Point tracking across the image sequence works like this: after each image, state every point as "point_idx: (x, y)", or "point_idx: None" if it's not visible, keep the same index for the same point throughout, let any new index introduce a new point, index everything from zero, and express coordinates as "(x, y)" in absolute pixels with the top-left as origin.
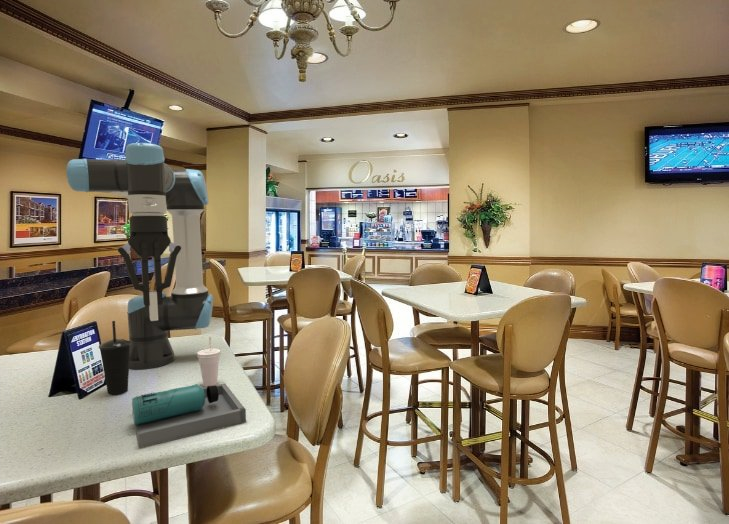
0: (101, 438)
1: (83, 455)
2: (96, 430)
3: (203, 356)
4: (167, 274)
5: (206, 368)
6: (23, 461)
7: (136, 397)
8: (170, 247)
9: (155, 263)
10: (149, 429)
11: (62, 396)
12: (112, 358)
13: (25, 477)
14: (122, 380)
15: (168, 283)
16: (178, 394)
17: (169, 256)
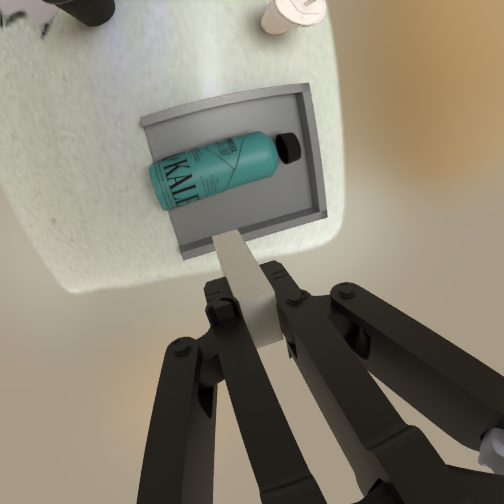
0: (118, 207)
1: (115, 252)
2: (101, 176)
3: (288, 20)
4: (376, 373)
5: (282, 27)
6: (52, 250)
7: (161, 191)
8: (496, 469)
9: (352, 460)
10: (195, 248)
11: (16, 25)
12: (73, 7)
13: (77, 286)
14: (103, 13)
15: (352, 339)
16: (235, 182)
17: (477, 406)
